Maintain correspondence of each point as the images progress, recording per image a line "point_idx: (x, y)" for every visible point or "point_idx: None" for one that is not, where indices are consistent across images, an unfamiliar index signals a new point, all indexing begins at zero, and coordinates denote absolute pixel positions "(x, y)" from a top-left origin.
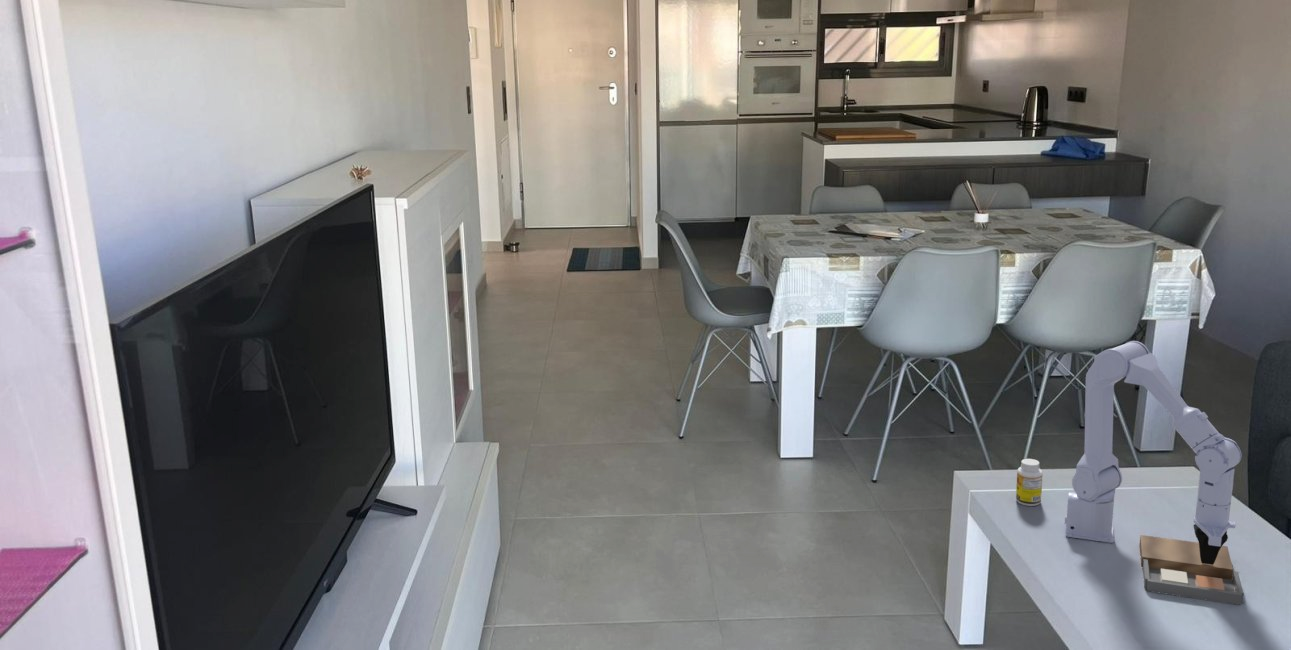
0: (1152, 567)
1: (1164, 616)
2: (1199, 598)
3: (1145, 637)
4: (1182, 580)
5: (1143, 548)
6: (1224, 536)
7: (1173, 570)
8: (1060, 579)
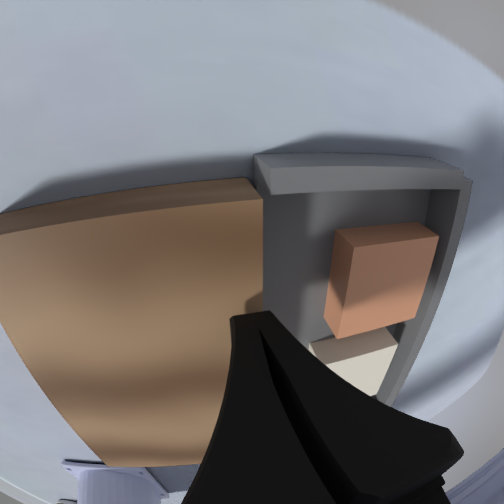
0: None
1: (465, 332)
2: None
3: (499, 335)
4: (382, 359)
5: (199, 461)
6: (429, 477)
7: None
8: None
